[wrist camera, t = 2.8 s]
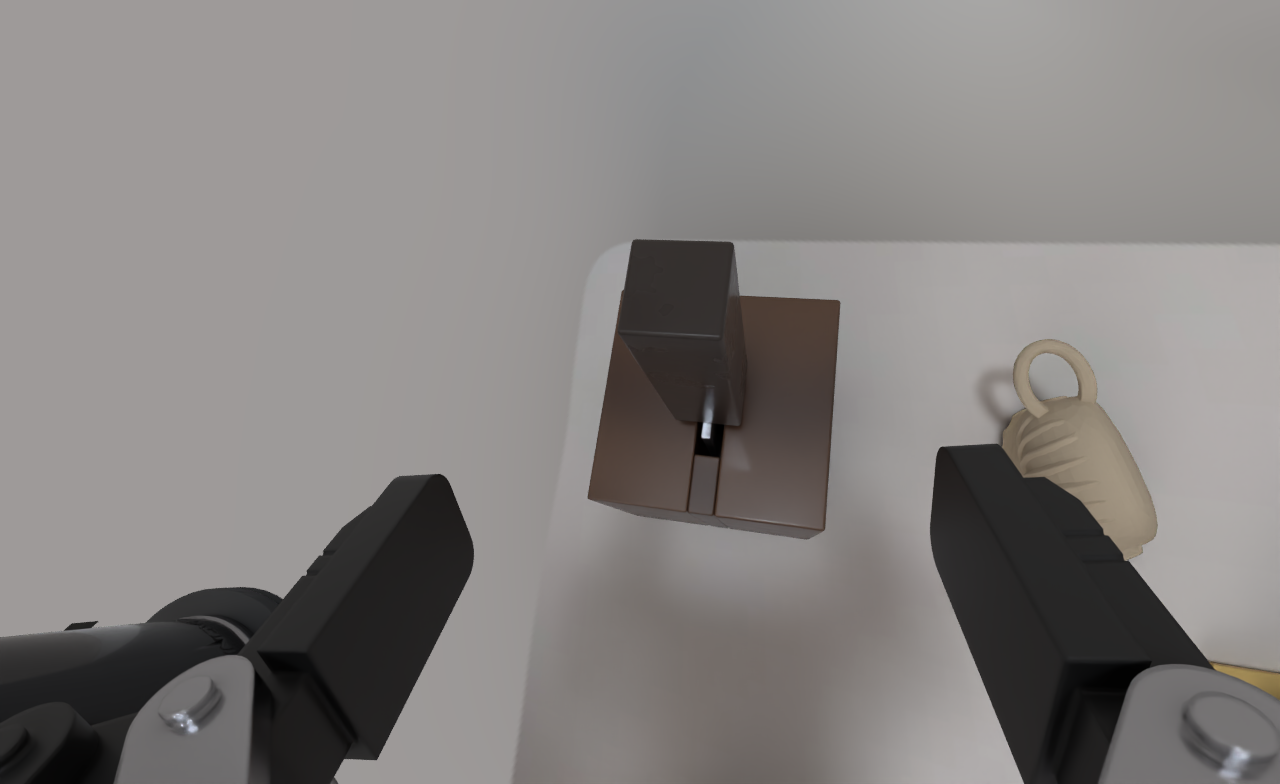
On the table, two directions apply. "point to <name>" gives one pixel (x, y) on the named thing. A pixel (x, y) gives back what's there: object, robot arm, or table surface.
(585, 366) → the table surface
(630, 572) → the table surface
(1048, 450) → the decorative ornament
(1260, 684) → the cake
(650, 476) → the knife block
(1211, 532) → the table surface
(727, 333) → the knife
